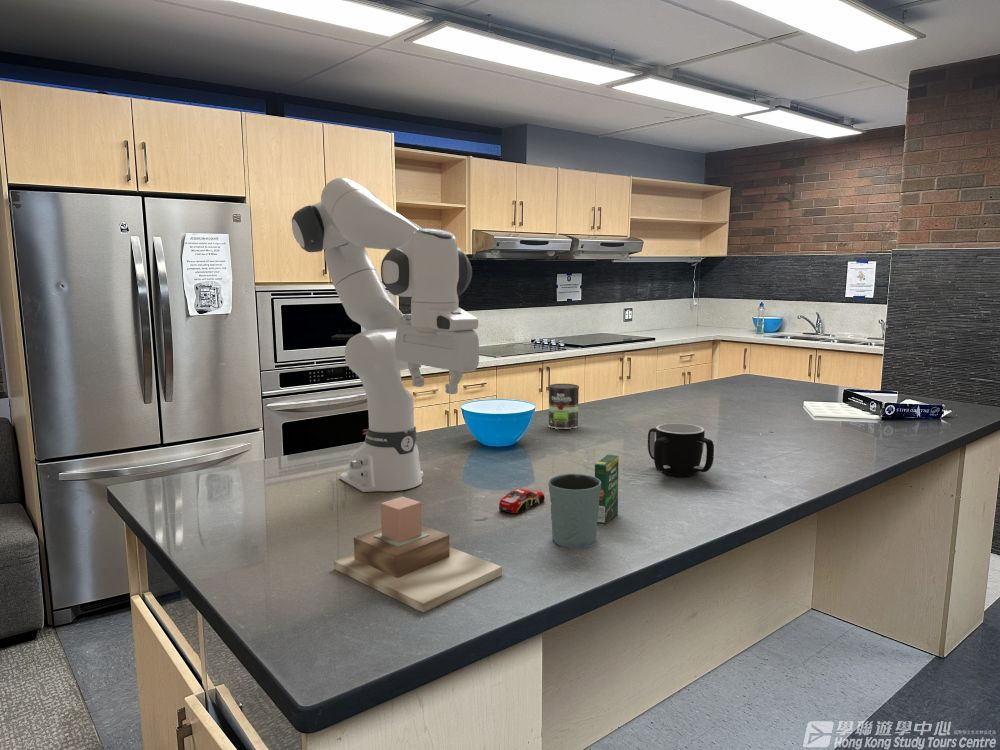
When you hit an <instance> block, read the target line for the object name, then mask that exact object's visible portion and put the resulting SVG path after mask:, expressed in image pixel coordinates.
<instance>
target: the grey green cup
mask: <svg viewBox="0 0 1000 750" xmlns="http://www.w3.org/2000/svg"><path fill="white" fill-rule="evenodd" d="M548 490H549V491H548V492H549V499H550V501H549V502H550V513H551V514H550V520H551V534H552V541H553V542H554V543H555V544H556V545H559V546H561V547H564V548H568V549H569V548H570V549H584V548H589V547H591V546H594V545H595V544H596V542H597V536H598V535H597V534H598V525H597V520H598V512H599V508H598V507H599V496H600V490H601V481H600V480H599V479H598V478H596V477H595V476H593V475H589V474H582V473H563V474H562V473H561V474H558V475H556V476H552V477H551V478H549V480H548Z"/></svg>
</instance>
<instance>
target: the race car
mask: <svg viewBox="0 0 1000 750" xmlns="http://www.w3.org/2000/svg"><path fill="white" fill-rule="evenodd" d="M545 499H546V497H545V494H544V493H543V492H542V491H541V490H538V489H523V488H515V489H513V490H511V491H510V492H509V493H507V494H506V495H504V496H503V497H501V498H500V500H499V503H498V510H499V511H503V512H505V513H509V514H510V513H511V514H522V513H524V512H525V511H527V510H529V509H531V508H533V507H535V506H537V505H540V504H542V503H544V502H545Z"/></svg>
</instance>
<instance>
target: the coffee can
mask: <svg viewBox="0 0 1000 750" xmlns="http://www.w3.org/2000/svg"><path fill="white" fill-rule="evenodd" d="M579 391H580V385H578V384H573V383H552V384H549V385H548V428H550V427H551V428H550V429H552V428H555V429H554V430H559V429H570V430H572V429H571V428H576V427H578V428H579V401H580V400H579V396H580V394H579ZM576 429H577V428H576Z"/></svg>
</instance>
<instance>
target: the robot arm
mask: <svg viewBox="0 0 1000 750" xmlns="http://www.w3.org/2000/svg"><path fill="white" fill-rule="evenodd" d="M320 195H321V196H320V201H319V202H316V203H314V204H311V205H310V204H309V205H304V207H302V208H299V209H298V210H297V211H295V212H294V214H293V216H292V218H291V230H292V231H291V232H292V234H293V237H294V239H295V240H296V243H298V244H299V246H300V248H301V249H302V250H304V251H305V252H307V253H319V252H323V250H324V261H325V265H326V268H327V271H328V274H329V277H330V280H331V283H332V285H333V287H334V290H335V291H336V294H337V296H338V298H339V299H340V303H341V305H342V306H343V308H344V310H345V313H346V315H347V316H348V317H349V319H351V321H352V322H355V323H357V324H358V325H360V326H361V327H362V328H363V329H364V330H363V331H361V332H359V333H357V334H355V335H353V336H352V337H350V338H349V340H348V341H347V343H346V345H345V346H344V347H345V349H344V358H345V362H346V364H347V367H348V368H349V369H350V370H351V371H352V373H355V375H356V376H357V377H358V378H359V380H360V381H361V384H362V386H363V389H364V392H365V395H366V400H367V410H368V411H367V412H368V413H367V414H368V428H367V429H365V428H364V429H362V432H363V433H362V435H365V438H364V443H363V444H361V445H360V446H359V447H358V448H357V449H356V450H355V451H354V452H352V453H351V455H350V456H349V459H348V470H346V471H344V472H342V473H340V474H339V479H340V480H341V481H343V482H345V483H347V484H348V485H350V486H352V487H353V488H356V489H357V490H358V491H360V492H363V493H366V492H367V493H370V492H396V491H397V492H398V491H404V490H409V489H413V488H415V487H418V486H420V485H421V484H422V482H423V477H424V471H423V470H421V462H420V454H419V447H418V445H417V444H416V441H417V433H418V432H417V427H416V426H415V412H414V411H415V410H414V408H415V407H414V403H415V402H414V397H413V394H412V393H411V392H410V391H409V390H407V389H406V387H405V386H404V383H403V380H402V377H401V371H404V370H408V371H409V373H410V376H411V378H412V382H411V383H412V386H413V387H417V388H420V387H424V386H425V376H422V374H421V370H420V368H422V366H425V367H429V368H430V367H431V368H435V369H436V368H437V369H442V370H447V371H448V376H449V377H450V378H449V382H448V383H445V385H444V388H445V390H444V391H445V394H448V395H456V394H457V393H458V386H459V385H458V384H459V383H460V381H461V379H462V377H463V373H470V372H475V371H476V370H477V368H478V367H479V362H480V342H479V336H478V333H477V332H476V331H475V330H477V329H478V328H479V319H478V318H477V317H476V316H474V315H472V314H471V313H469V312H467V311H466V310H465V309H462V308H461V307H459V301H460V300H459V297H460V296H461V295H462V294H463V293H464V292H465V291H466V289H467V288H468V287H469V285H470V283H471V281H472V276H473V268H472V265H471V262H470V260H469V258H468V256H467V255H466V254H465V252H464V251H463V250H462V249H461V248H459V247H458V244H457V239H456V236H455V235H454V234H453V233H451V232H450V231H449V230H445V229H439V228H438V229H436V228H429V227H428V228H426V227H425V228H423V227H421V226H420V225H418V224H417V223H415V222H413V221H412V220H410V219H408V218H407V217H404V216H403V215H401V214H400V213H399V212H397V211H395V210H393V209H392V208H390V207H389V206H387V205H386V204H385V203H384V202H382V201H381V200H380V199H379V197H378V196H377V195H376V194H375V193H373V191H371V190H368V189H367V188H366V187H364V186H363V185H361V184H359V183H358V182H356V181H354V180H352V179H350V178H346V177H337V178H334V179H331V180H330V181H328V182H327V183H326V185H324V187H323V189H322V192H321V194H320ZM366 249H376V250H387V251H388V252H387V253H386V254H385V255H384V257H383V259H382V260H381V262H380V263H381V264H380V275H379V272H378V270H377V269H376V267H375V265H374V263H373V261H372V260H371V257H370V256H369V255H368V252H367V250H366ZM388 292H389V293H390V294H391V295H393V296H397V297H402V298H406V297H407V298H408V297H410V298H411V299H410V300H411V301H410V302H411V303H410V314H408V313H405V314H403V313H402V311H401V310H400V309H399V308H398V307H397V305H396V304H395V302H394V301H393V300H392V298H391V297H390V294H389V293H388Z"/></svg>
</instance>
